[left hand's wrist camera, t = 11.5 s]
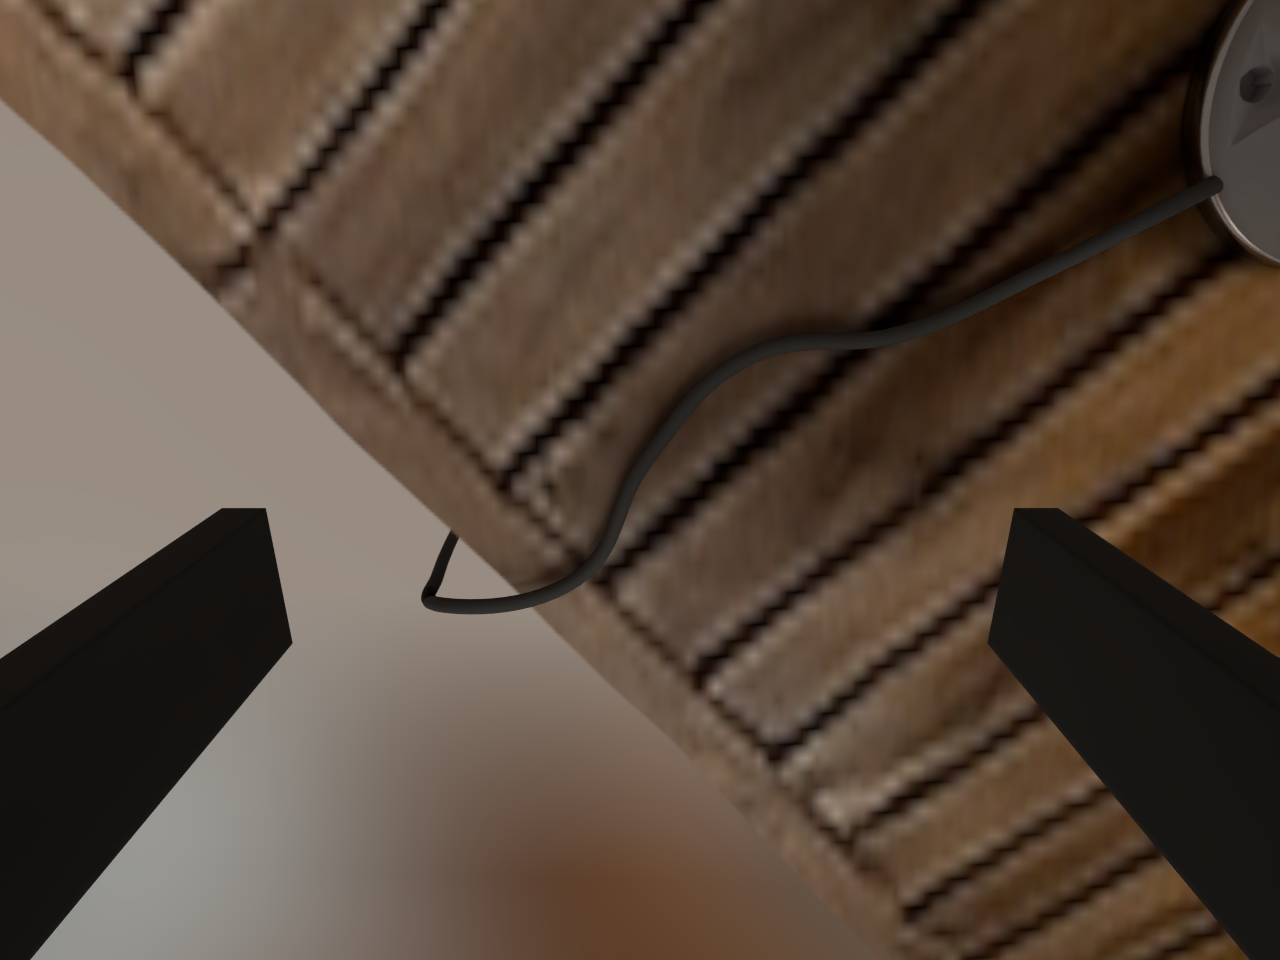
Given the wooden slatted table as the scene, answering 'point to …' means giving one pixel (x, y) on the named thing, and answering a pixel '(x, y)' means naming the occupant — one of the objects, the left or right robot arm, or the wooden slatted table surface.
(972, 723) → the wooden slatted table surface
